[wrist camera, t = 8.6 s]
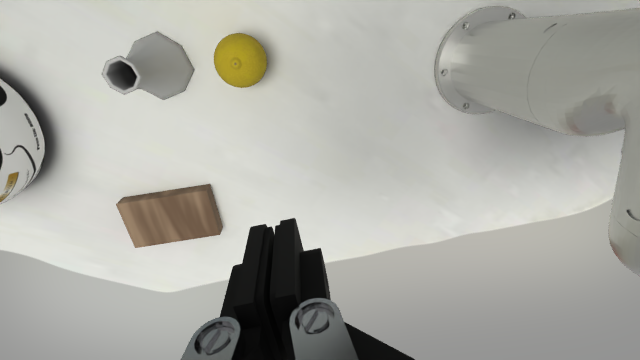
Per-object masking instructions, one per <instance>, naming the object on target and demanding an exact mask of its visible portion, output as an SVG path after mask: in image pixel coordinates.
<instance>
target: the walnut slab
mask: <svg viewBox="0 0 640 360" xmlns="http://www.w3.org/2000/svg"><path fill="white" fill-rule="evenodd" d="M116 205H117V208H118V210H119V212H120V214H121V217H122V219H123V221H124V224H125V226H126V228H127V230H128V233H129V235H130V237H131V239H132V242H133V244H134V246H135V248H138V247H145V246H151V245H157V244H164V243H170V242H176V241H183V240H189V239H196V238H202V237H208V236H215V235H220V233H221V231H222V228H223V226H222V222H221V219H220V216H219V212H218V209H217V206H216V202H215V199H214V196H213V192H212V189H211V186H210V184H207V185H201V186H194V187H188V188H181V189H175V190H169V191H162V192H156V193H149V194H143V195H136V196H130V197H123V198H122V199H121V200H120V201H119V202H118V203H117V204H116Z"/></svg>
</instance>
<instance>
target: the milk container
mask: <svg viewBox="0 0 640 360" xmlns="http://www.w3.org/2000/svg"><path fill="white" fill-rule="evenodd" d="M44 156H45V139H44V135H43V132H42V129H41V126H40V123H39V121H38V119H37V117H36V115H35V113H34V112H33V110H32V109H31V108H30V106H29V105H28V104H27V102H26V101H25V100H24V99H23V97H22V96H21V95H20V94H19V93H18V92H17V91H16V90H14V89H13V88H12V87H11V86H9V85H8V84H7V83H6V82H4V81H3V80H2V79H0V204H2V203H4V202H6V201H8V200H9V199H11V198H13V197H14V196H16V195H17V194H18V193H20V192H21V191H22V190H24V189H25V188H26V187H27V186H28V185H29V184H30V183H31V182H32V181H33V180H34V179H35V177H36V176H37V174H38V173H39V171H40V169H41V167H42V164H43V161H44Z"/></svg>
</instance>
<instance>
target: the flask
mask: <svg viewBox="0 0 640 360" xmlns="http://www.w3.org/2000/svg"><path fill="white" fill-rule="evenodd" d="M193 71H194V69H193V67H192V65H191V63H190V61H189V59H188V58H187V56H186V54H185V52H184V50H183V48H182V46H181V45H179V44H177V43H176V42H174V41H172V40H171V39H169V38H167V37H165V36H164V35H162V34H160V33H159V32H155V33H152V34H150V35H148V36H146V37H144V38H141V39H139V40H137V41H135V42H134V44H133V46H132V48H131V50H130V52H129V54H128V56H127V57H126V59H125V58H124V57H122V56H117V57H115V58H113V59H111V60H108V61H106V63H105V66H104V69H103V72H102V75H103V77H104V79H105V80H106V82H107V83H108V85H109V86H110V88H112V89H114V90H116V91H118V92H120V93H122V94H124V95H125V94H127V93H130V92H132V91H134V90H136V89H142V90H144V91H147V92H149V93H151V94H153V95H155V96H157V97H159V98H160V99H163V100H165V99H167V98H169V97H172V96H174V95H176V94H178V93H181V92H183V91H185V89H186V86H187V84H188V82H189V80H190V78H191V75H192V73H193Z"/></svg>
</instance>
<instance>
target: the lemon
mask: <svg viewBox="0 0 640 360" xmlns="http://www.w3.org/2000/svg"><path fill="white" fill-rule="evenodd" d="M214 64H215V68H216V70H217V72H218V74H219V76H220V77H221V78H222V79H223V80H224V81H225V82H227V83H228V84H230V85H232V86H234V87H240V88H244V87H250V86H252V85H254V84H256V83H257V82H259V81H260V79H261V78H262V77H263V75H264V73H265V71H266V66H267V58H266V54H265V51H264V49H263V47H262V46H261V44H260V43H259V42H258V41H257V40H256V39H254V38H253V37H251V36H249V35H246V34H242V33H235V34H231V35H228V36H226V37H225V38H223V39H222V40H221V41H220V42H219V43H218V45H217V47H216V49H215V53H214Z"/></svg>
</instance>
